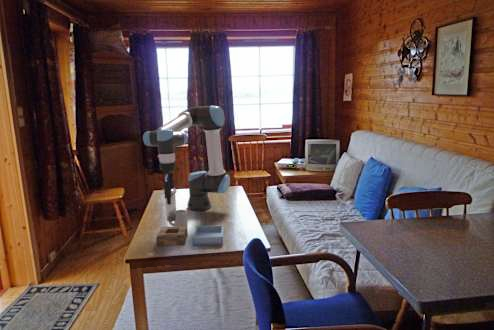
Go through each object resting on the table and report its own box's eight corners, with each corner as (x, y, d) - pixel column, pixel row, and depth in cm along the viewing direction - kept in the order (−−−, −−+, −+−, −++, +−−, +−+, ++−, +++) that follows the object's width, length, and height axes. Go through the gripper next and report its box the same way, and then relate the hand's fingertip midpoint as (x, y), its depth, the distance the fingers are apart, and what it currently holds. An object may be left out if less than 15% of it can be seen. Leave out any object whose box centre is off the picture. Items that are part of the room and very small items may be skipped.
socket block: (162, 236, 186) (161, 226, 185) (187, 234, 187) (187, 225, 186) (157, 246, 174) (156, 236, 173) (184, 245, 174) (183, 235, 173)
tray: (196, 233, 188) (196, 226, 188) (223, 232, 189) (223, 225, 188) (193, 245, 173) (192, 238, 172) (222, 244, 173) (222, 236, 172)
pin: (166, 217, 181) (164, 188, 178) (179, 217, 182) (177, 187, 179) (164, 222, 175) (161, 191, 172) (177, 221, 175) (175, 190, 172)
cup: (188, 228, 195) (187, 213, 194) (169, 231, 193) (168, 215, 192) (187, 224, 202) (186, 209, 201) (169, 226, 200) (167, 211, 199)
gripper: (163, 158, 181) (166, 203, 186) (155, 165, 164) (159, 214, 168) (178, 158, 182) (181, 202, 186) (172, 165, 164) (175, 214, 168)
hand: (170, 208), depth 177 cm, fingers closed on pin, 5 cm apart
